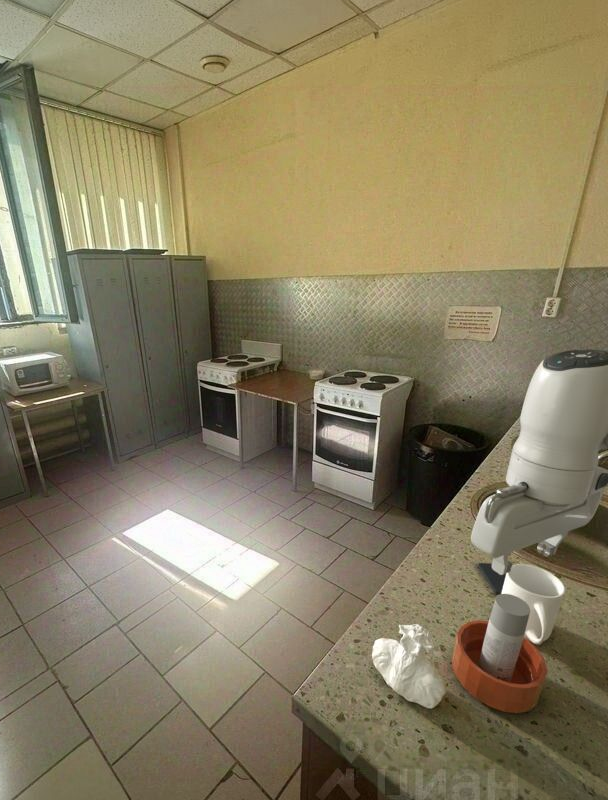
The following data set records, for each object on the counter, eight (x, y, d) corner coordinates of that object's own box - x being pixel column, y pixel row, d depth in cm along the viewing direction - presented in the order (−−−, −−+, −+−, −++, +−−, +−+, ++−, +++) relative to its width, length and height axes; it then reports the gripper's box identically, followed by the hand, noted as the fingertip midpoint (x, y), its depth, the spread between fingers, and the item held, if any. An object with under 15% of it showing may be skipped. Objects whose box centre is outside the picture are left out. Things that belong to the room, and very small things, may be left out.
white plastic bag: (441, 718, 61) (470, 650, 62) (426, 725, 56) (457, 651, 57) (373, 665, 70) (400, 607, 71) (355, 667, 65) (383, 604, 66)
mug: (506, 653, 69) (520, 606, 65) (491, 603, 80) (501, 560, 76) (565, 666, 66) (582, 618, 63) (541, 612, 77) (554, 568, 73)
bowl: (514, 649, 70) (522, 623, 68) (554, 720, 58) (565, 692, 56) (441, 642, 71) (446, 617, 69) (467, 710, 60) (474, 683, 58)
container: (511, 671, 65) (532, 601, 60) (508, 694, 62) (530, 621, 56) (479, 657, 68) (496, 588, 62) (475, 678, 64) (492, 607, 59)
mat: (520, 568, 89) (521, 565, 89) (542, 598, 80) (543, 595, 80) (478, 565, 90) (478, 562, 90) (495, 594, 82) (496, 591, 81)
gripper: (516, 504, 45) (492, 598, 50) (622, 471, 52) (592, 556, 57) (468, 481, 51) (451, 567, 56) (570, 454, 58) (547, 533, 63)
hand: (523, 562), depth 57 cm, fingers open, 8 cm apart
